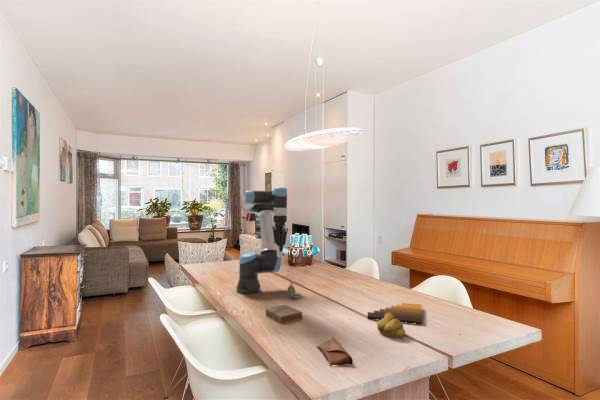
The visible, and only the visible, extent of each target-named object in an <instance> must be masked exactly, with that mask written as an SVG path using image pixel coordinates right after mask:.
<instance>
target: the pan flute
mask: <svg viewBox="0 0 600 400" xmlns="http://www.w3.org/2000/svg"><path fill="white" fill-rule="evenodd" d="M422 306H423V305H422V304H419V303H417V304H416V303H408V302H407V303H406V302H402V303H401V304H398V303H397V304H396V305H390V307H386V306H385V309H382V308H379V310H373V312H369V311H368V312H367V317H366V318H367V319H368V320H374V319H379V320H378V321H380V320H381V319H383V318H384V316H385V314H386V313H388V312H391V313H393V314H394V316H395V317H396V319H398V320H399V321H400V322H407V323H406V324H408V323H416V324H422V325H423V321H422V320H423V309H422V308H423V307H422ZM416 324H415V325H416Z"/></svg>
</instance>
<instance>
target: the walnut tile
mask: <svg viewBox="0 0 600 400" xmlns="http://www.w3.org/2000/svg"><path fill="white" fill-rule="evenodd" d="M265 316H266V317H268V318H270V319H272V320H274V321H276V322H278V323H279V324H281V325H282V324H286V323H289V322H292V321H297V320H300V319H302V318H303V312H302V311H301V310H299V309H296V308H294V307H292V306H289V305H287V304H283V305H279V306H275V307H270V308H269V307H268V308H265Z"/></svg>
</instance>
